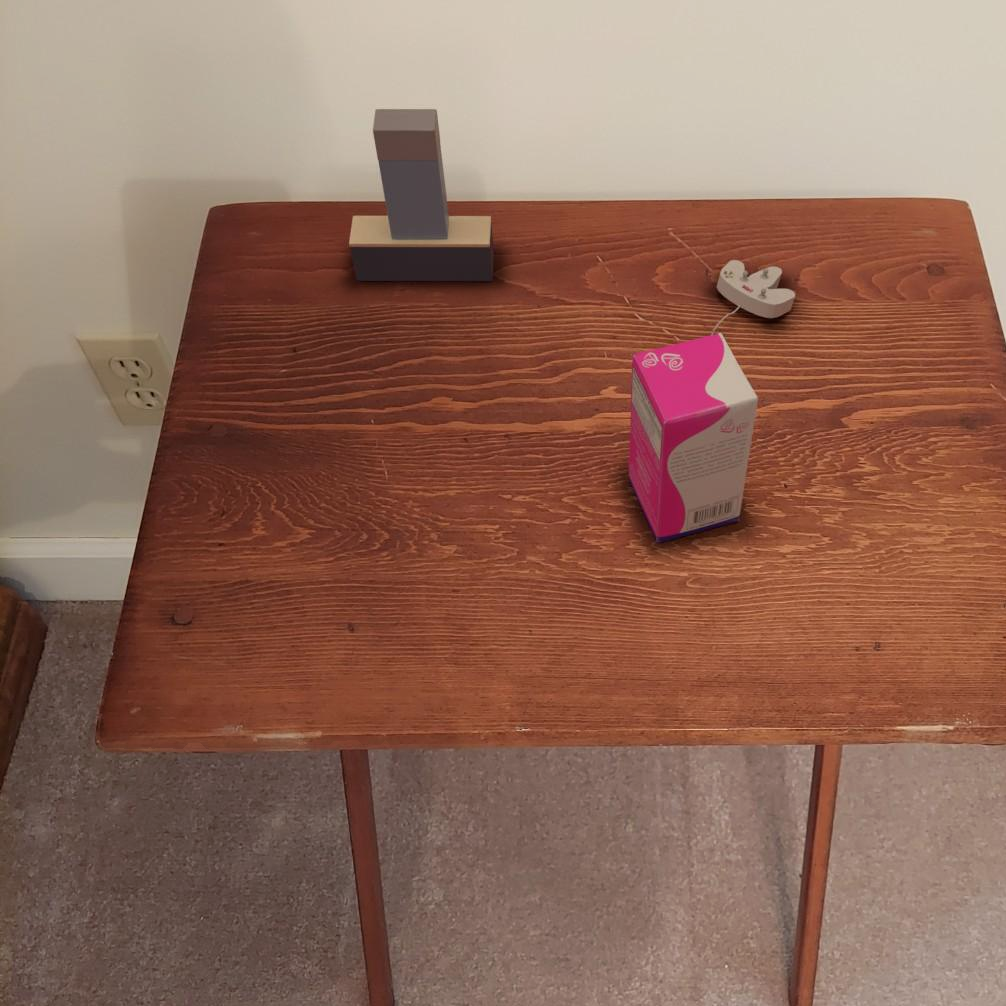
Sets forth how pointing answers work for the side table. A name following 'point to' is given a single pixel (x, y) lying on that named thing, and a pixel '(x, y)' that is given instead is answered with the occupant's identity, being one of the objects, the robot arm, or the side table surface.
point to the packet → (412, 172)
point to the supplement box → (690, 436)
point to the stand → (423, 252)
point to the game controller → (754, 290)
